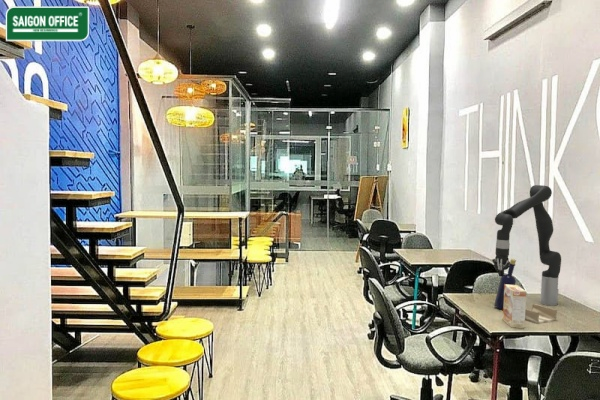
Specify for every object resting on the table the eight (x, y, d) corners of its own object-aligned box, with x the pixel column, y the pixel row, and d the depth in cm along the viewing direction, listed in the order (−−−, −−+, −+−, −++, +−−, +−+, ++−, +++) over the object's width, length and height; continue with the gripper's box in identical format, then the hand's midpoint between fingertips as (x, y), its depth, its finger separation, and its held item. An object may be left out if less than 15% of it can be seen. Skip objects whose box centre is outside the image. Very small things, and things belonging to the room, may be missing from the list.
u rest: (534, 314, 288) (534, 303, 287) (556, 320, 275) (556, 309, 275) (514, 316, 280) (515, 306, 280) (536, 323, 268) (537, 312, 268)
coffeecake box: (502, 319, 275) (504, 284, 274) (515, 320, 274) (517, 284, 273) (510, 327, 260) (512, 290, 259) (525, 328, 259) (527, 291, 258)
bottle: (511, 311, 293) (523, 264, 285) (495, 308, 295) (506, 260, 287) (508, 305, 302) (520, 258, 294) (492, 301, 303) (503, 255, 296)
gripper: (516, 248, 294) (514, 278, 295) (498, 245, 305) (496, 273, 306) (507, 249, 290) (505, 278, 291) (489, 246, 302) (487, 274, 303)
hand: (501, 276), depth 299 cm, fingers closed
